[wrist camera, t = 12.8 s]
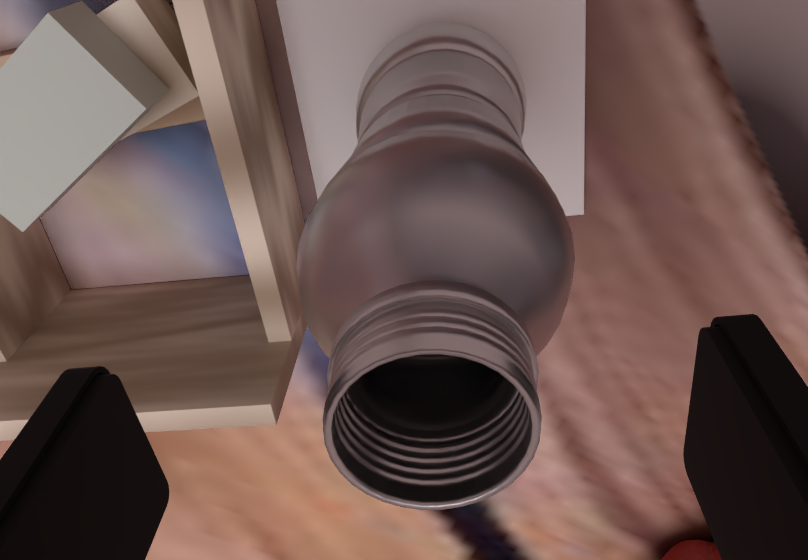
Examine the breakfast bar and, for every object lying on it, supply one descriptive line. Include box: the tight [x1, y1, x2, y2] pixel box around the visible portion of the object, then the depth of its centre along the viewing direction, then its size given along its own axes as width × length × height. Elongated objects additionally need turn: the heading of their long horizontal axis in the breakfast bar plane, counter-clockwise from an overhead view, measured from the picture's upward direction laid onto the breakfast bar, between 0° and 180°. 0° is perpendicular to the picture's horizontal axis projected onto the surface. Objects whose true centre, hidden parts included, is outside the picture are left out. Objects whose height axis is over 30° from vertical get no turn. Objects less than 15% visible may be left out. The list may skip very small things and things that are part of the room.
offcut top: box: [0, 1, 170, 232], centre depth 25 cm, size 4×8×2 cm, turn 130°
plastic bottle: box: [296, 22, 575, 510], centre depth 20 cm, size 6×7×20 cm
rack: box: [0, 0, 307, 441], centre depth 26 cm, size 19×14×10 cm
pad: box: [276, 0, 586, 216], centre depth 29 cm, size 12×12×1 cm
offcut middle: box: [97, 0, 199, 143], centre depth 26 cm, size 4×9×2 cm, turn 118°
